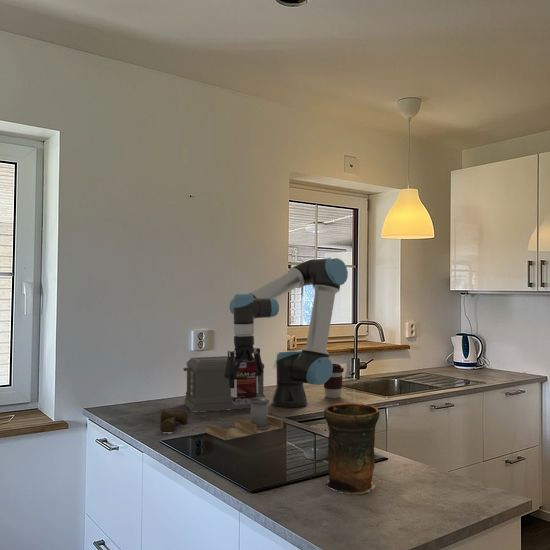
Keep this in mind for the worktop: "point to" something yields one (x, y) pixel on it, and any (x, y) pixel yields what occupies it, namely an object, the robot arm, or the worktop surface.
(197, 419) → the worktop surface
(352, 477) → the vessel
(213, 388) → the toaster
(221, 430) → the oak rack
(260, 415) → the light grey cylinder
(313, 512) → the worktop surface
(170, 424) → the kendama
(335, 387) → the coffee cup
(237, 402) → the supplement box
